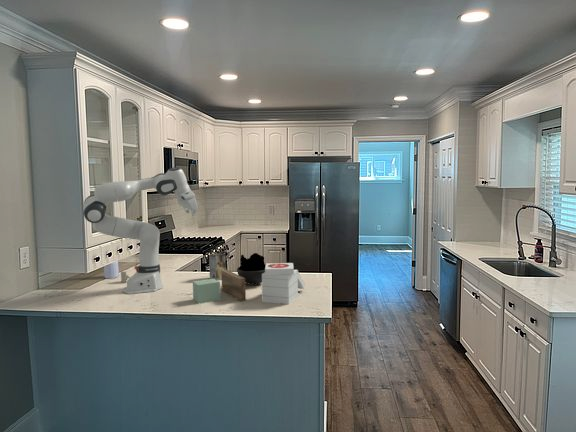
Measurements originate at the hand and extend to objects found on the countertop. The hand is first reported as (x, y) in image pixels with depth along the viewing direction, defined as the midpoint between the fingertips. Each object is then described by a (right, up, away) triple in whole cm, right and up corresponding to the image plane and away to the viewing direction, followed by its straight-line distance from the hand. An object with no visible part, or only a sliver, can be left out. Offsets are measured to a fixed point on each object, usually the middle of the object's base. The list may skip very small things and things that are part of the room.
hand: (191, 214), depth 261 cm
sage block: (+14, -46, -27) cm, 55 cm away
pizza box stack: (+56, -46, -22) cm, 75 cm away
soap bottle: (-60, -42, +30) cm, 79 cm away
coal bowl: (+37, -43, +5) cm, 57 cm away
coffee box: (+13, -42, +21) cm, 49 cm away
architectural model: (-46, -44, +16) cm, 65 cm away
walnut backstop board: (+28, -45, -19) cm, 56 cm away
